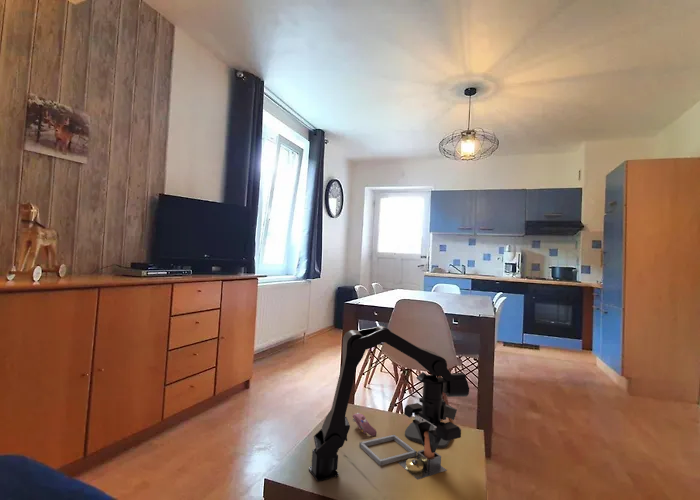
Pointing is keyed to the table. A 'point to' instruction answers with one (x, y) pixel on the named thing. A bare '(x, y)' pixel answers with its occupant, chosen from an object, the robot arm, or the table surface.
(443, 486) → the table surface
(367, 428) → the video game controller
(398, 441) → the tray
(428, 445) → the pin
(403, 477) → the table surface
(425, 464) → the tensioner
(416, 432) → the media streaming box
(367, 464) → the table surface
